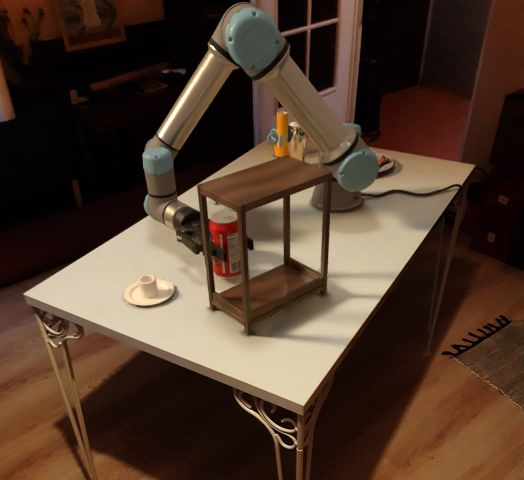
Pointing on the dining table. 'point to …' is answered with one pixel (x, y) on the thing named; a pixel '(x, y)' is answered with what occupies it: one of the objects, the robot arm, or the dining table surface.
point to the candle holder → (148, 291)
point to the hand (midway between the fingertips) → (239, 250)
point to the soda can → (226, 243)
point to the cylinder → (280, 135)
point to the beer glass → (296, 141)
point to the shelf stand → (291, 272)
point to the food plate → (384, 161)
